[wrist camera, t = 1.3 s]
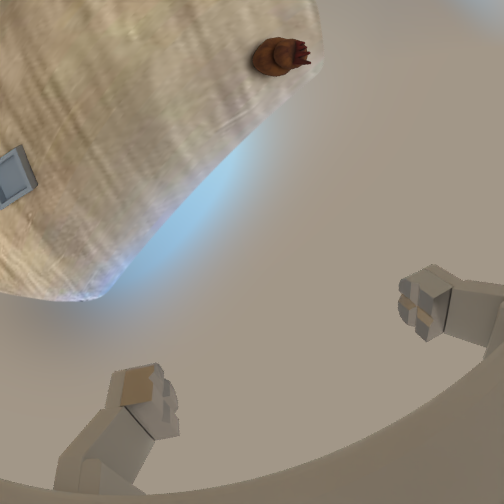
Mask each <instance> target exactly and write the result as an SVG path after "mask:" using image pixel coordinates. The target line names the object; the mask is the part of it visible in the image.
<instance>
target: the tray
mask: <svg viewBox="0 0 504 504" xmlns="http://www.w3.org/2000/svg"><path fill="white" fill-rule="evenodd" d="M37 185H38V183H37V181H36V178H35V176H34V174H33V171H32V169H31V166H30V164H29V161H28V159H27V156H26V154H25V151H24V148H23V146H22V145H20V146H18V147H16V148H14V149H13V150H11V151H10V152H8V153H7V154H5V155H4V156H3V157H1V158H0V210H2V209H4V208H5V207H6V206H8V205H9V204H11V203H13V202H14V201H16V200H17V199H19V198H20V197H22V196H24V195H25V194H27V193H28V192H30V191H32V190H33V189H34V188H35V187H36V186H37Z"/></svg>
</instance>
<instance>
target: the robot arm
mask: <svg viewBox="0 0 504 504" xmlns="http://www.w3.org/2000/svg"><path fill="white" fill-rule="evenodd" d="M399 291H400V293H401V294H402V295H401V297H400V299H399V301H398V311H399V314H400V317H401V318H402V320H403V321H404V322H405V323H406V324H407V325H410V326H414V327H415V332H416V333H417V334H418V335H419V336H420V337H421V338H422V339H423V340H425V341H426V342H428V341H430V340H432V339H433V338H435V337H437V336H438V335H440V334H442V333H443V332H444V334H447V335H450V336H453V337H456V338H459V339H462V340H465V341H468V342H471V343H474V344H477V345H480V346H483V347H486V351H485V354H484V356H483V361H482V362H481V363H479V364H478V365H477V366H476V367H475V368H473V369H472V370H471V371H470V372H468V373H467V374H466V375H465V376H463V377H462V378H461V379H459V380H458V381H457V382H455V383H454V384H453V385H452V386H450V387H449V388H447V389H446V390H445V391H443V392H442V393H440V394H439V395H437V396H436V397H435V398H433V399H432V400H430V401H429V402H427V403H426V404H424V405H422V406H421V407H419V408H418V409H416V410H415V411H413V412H411V413H410V414H408V415H407V416H405V417H403V418H401V419H399V420H398V421H396V422H394V423H393V424H391V425H389V426H387V427H385V428H383V429H381V430H380V431H378V432H376V433H374V434H372V435H370V436H368V437H366V438H364V439H362V440H360V441H358V442H355V443H353V444H351V445H349V446H347V447H344V448H342V449H340V450H337V451H335V452H333V453H330V454H328V455H325V456H323V457H320V458H318V459H315V460H313V461H310V462H307V463H304V464H301V465H298V466H296V467H293V468H289V469H286V470H283V471H280V472H277V473H273V474H270V475H266V476H262V477H259V478H255V479H251V480H247V481H243V482H238V483H234V484H229V485H224V486H219V487H213V488H207V489H201V490H194V491H186V492H178V493H169V494H168V493H167V494H153V495H146V494H145V493H144V492H143V491H141V490H140V489H138V488H137V487H135V486H133V485H132V484H133V482H134V480H135V478H136V477H137V475H138V473H139V471H140V469H141V467H142V465H143V464H144V462H145V460H146V458H147V456H148V454H149V452H150V450H151V449H152V447H153V445H154V443H155V440H161V439H166V438H171V437H176V436H179V435H180V434H179V419H178V417H177V416H176V415H175V412H176V411H177V409H178V400H177V396H176V392H175V390H174V388H173V386H172V384H171V382H170V381H169V380H166V379H164V371H163V370H162V368H161V366H160V365H159V364H158V363H153V364H148V365H144V366H138V367H133V368H129V369H124V370H119V371H115V372H114V373H113V374H112V376H111V381H110V386H109V390H108V394H107V399H106V404H105V409H102V410H100V411H99V412H98V413H97V414H96V416H95V417H94V418H93V419H92V420H91V421H90V422H89V424H88V425H87V426H86V427H85V428H84V429H83V430H82V431H81V433H80V434H79V435H78V436H77V437H76V438H75V440H74V441H73V442H72V443H71V444H70V445H69V446H68V447H67V449H66V450H65V451H64V452H63V453H62V454H61V456H60V457H59V460H58V465H57V470H56V476H55V481H54V488H53V490H49V489H43V488H38V487H33V486H28V485H24V484H19V483H15V482H11V481H8V480H4V479H0V504H504V285H501V284H493V283H486V282H479V281H471V280H465V281H463V280H461V279H459V278H458V277H456V276H454V275H453V274H451V273H449V272H447V271H446V270H444V269H442V268H440V267H439V266H437V265H433V264H431V265H429V266H427V267H426V268H423V269H422V270H420V271H418V272H416V273H414V274H412V275H410V276H408V277H405V278H403V279H401V280H400V283H399Z"/></svg>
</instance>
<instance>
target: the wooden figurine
mask: <svg viewBox="0 0 504 504" xmlns="http://www.w3.org/2000/svg"><path fill="white" fill-rule="evenodd" d="M304 44H305V42H302V41H299V40H295V39H284V38H281V37H276V38H270V39H267V40H265V41H264V42H263V43H262V44H261V45H260V46H259V47H258V49H257V50H256V52H255V54H254V56H253V64H254V67H255V68H256V69H257V70H258V71H260V72H261V73H263V74H265V75H270V76H276V77H277V76H281V75H285V74H286V73H288V72H289V71H290V70H291V69H294V68H298V67H300V66H301V65H306V64H311V62H310V61H307V60H306V59H307V55H309V54H310V52H307V49H306V48H307V46H305V45H304Z"/></svg>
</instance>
